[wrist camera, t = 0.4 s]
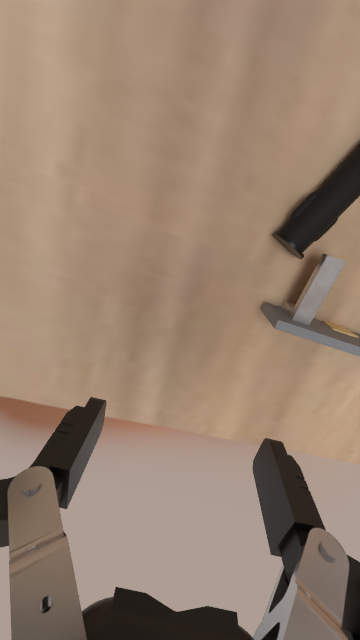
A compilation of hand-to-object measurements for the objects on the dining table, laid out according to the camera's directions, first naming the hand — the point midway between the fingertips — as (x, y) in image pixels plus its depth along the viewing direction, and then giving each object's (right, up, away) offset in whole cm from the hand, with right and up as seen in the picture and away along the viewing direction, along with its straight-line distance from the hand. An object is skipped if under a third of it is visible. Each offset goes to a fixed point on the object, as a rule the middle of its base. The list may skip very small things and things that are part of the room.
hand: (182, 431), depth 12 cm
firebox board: (+24, +4, +27) cm, 36 cm away
